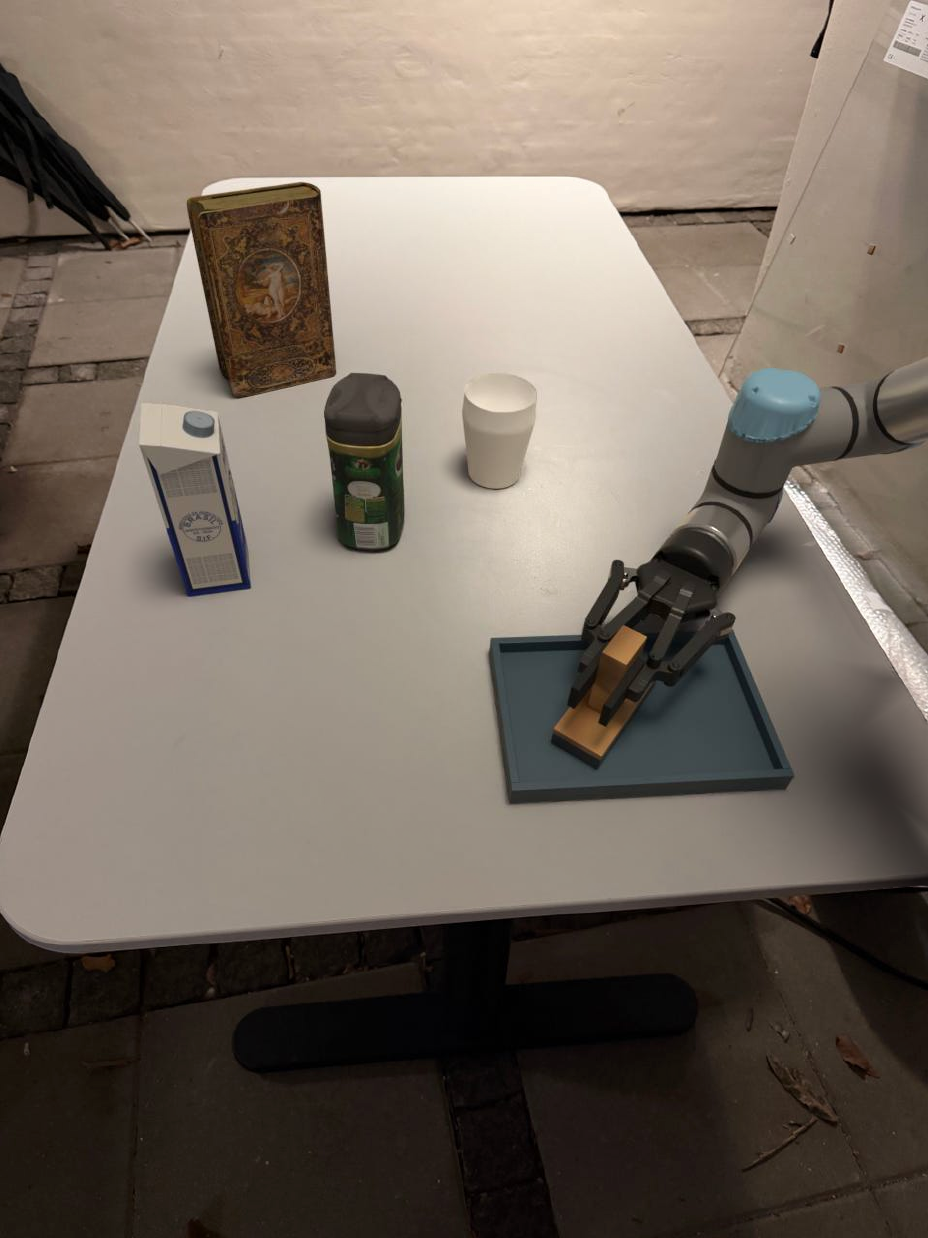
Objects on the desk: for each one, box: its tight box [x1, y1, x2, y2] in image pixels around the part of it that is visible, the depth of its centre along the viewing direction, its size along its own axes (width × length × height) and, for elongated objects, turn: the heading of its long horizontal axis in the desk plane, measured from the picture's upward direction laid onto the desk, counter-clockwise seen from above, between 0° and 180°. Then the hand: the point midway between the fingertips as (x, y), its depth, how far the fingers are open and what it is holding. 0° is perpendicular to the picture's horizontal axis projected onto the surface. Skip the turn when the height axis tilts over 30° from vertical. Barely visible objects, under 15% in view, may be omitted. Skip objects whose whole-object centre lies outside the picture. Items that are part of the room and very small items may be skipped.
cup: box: [461, 372, 538, 490], centre depth 97 cm, size 9×9×12 cm
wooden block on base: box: [551, 625, 656, 769], centre depth 71 cm, size 5×12×10 cm, turn 145°
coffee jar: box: [323, 372, 406, 551], centre depth 86 cm, size 10×8×19 cm
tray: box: [488, 629, 795, 805], centre depth 75 cm, size 18×26×2 cm
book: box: [186, 181, 337, 398], centre depth 105 cm, size 16×6×25 cm, turn 118°
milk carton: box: [138, 402, 252, 598], centre depth 79 cm, size 7×7×20 cm
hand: (588, 706), depth 66 cm, fingers closed on wooden block on base, 2 cm apart
